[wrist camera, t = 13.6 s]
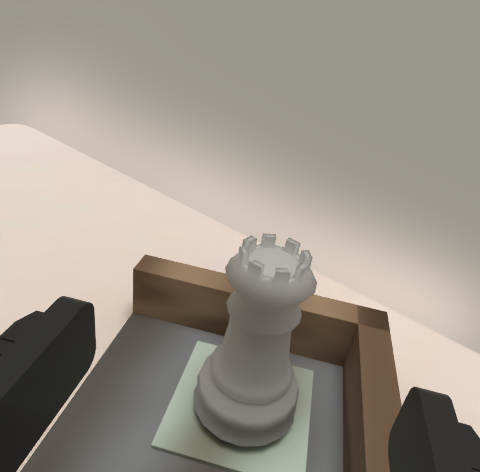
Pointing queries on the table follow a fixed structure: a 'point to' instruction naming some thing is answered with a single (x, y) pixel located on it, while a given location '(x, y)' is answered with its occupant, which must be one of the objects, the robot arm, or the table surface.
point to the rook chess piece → (256, 345)
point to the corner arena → (185, 380)
